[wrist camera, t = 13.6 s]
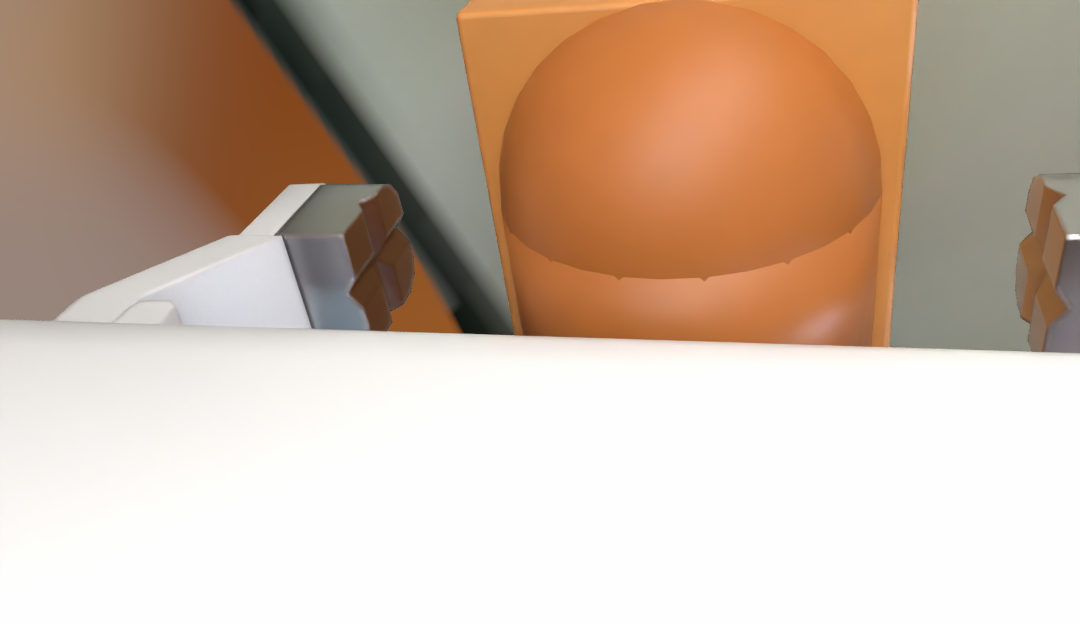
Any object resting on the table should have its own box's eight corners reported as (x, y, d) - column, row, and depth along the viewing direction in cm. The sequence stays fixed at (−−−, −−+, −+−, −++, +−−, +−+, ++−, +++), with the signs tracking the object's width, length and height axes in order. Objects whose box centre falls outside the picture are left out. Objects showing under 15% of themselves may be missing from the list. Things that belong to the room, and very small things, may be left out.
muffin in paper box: (582, -117, 17) (389, 77, 9) (880, -148, 15) (941, 48, 8) (618, 227, 20) (501, 564, 13) (858, 227, 19) (886, 602, 12)
